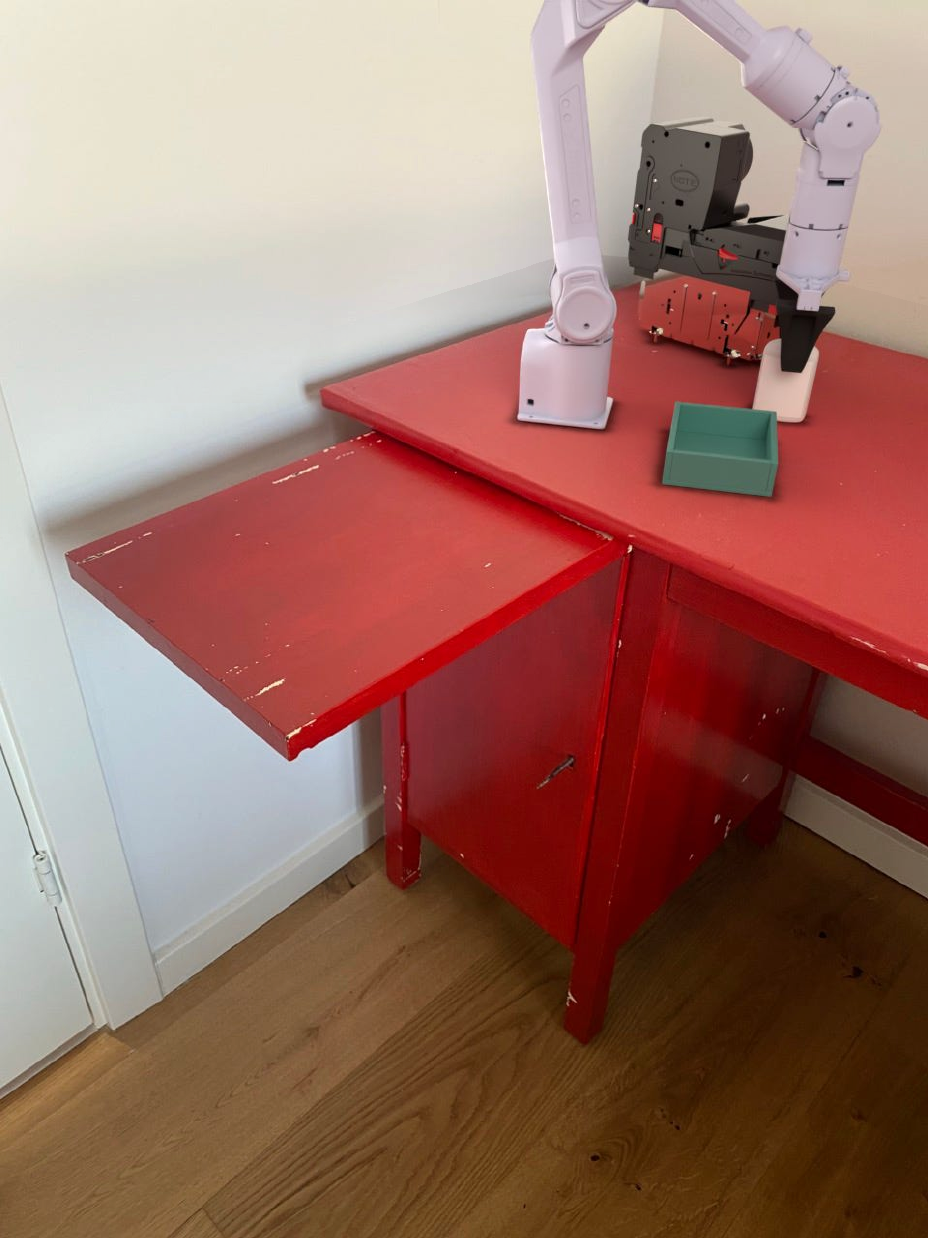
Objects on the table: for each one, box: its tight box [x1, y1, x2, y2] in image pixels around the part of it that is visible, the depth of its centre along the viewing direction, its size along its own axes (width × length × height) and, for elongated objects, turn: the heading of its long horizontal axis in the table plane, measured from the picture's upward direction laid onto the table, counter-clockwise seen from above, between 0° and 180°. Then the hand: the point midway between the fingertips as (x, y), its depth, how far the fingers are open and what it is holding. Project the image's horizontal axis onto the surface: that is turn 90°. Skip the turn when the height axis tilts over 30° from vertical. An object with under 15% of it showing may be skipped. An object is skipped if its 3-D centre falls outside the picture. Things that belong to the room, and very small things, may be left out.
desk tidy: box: [661, 401, 779, 498], centre depth 96 cm, size 10×12×4 cm
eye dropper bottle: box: [751, 339, 820, 424], centre depth 103 cm, size 4×6×12 cm
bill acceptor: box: [627, 115, 789, 366], centre depth 118 cm, size 10×23×25 cm, turn 44°
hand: (790, 358), depth 103 cm, fingers open, 7 cm apart
